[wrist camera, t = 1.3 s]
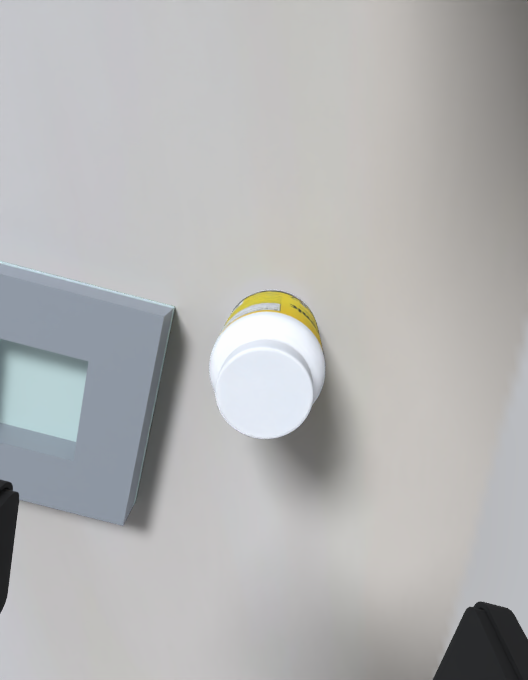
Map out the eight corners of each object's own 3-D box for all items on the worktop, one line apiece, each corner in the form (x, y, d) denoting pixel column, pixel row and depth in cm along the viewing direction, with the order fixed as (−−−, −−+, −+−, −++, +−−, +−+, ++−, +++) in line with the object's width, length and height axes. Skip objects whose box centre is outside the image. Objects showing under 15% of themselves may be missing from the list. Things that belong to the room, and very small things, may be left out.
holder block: (-56, 246, 28) (-88, 251, 26) (175, 306, 28) (164, 316, 26) (-66, 450, 32) (-95, 470, 30) (135, 501, 32) (122, 525, 30)
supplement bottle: (327, 363, 29) (344, 442, 19) (241, 383, 29) (217, 468, 20) (306, 276, 27) (313, 316, 18) (216, 299, 28) (177, 349, 19)
